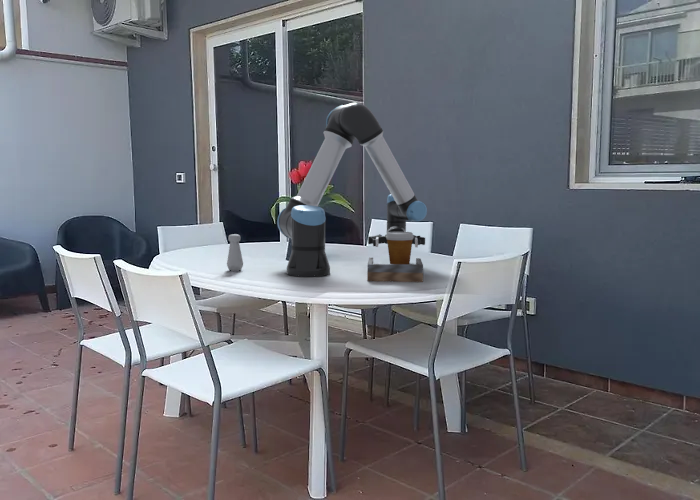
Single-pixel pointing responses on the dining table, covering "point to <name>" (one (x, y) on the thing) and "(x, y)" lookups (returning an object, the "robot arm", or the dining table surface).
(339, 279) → the dining table surface
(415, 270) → the dock
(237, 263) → the salt shaker
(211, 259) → the dining table surface
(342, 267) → the dining table surface
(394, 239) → the disposable coffee cup
